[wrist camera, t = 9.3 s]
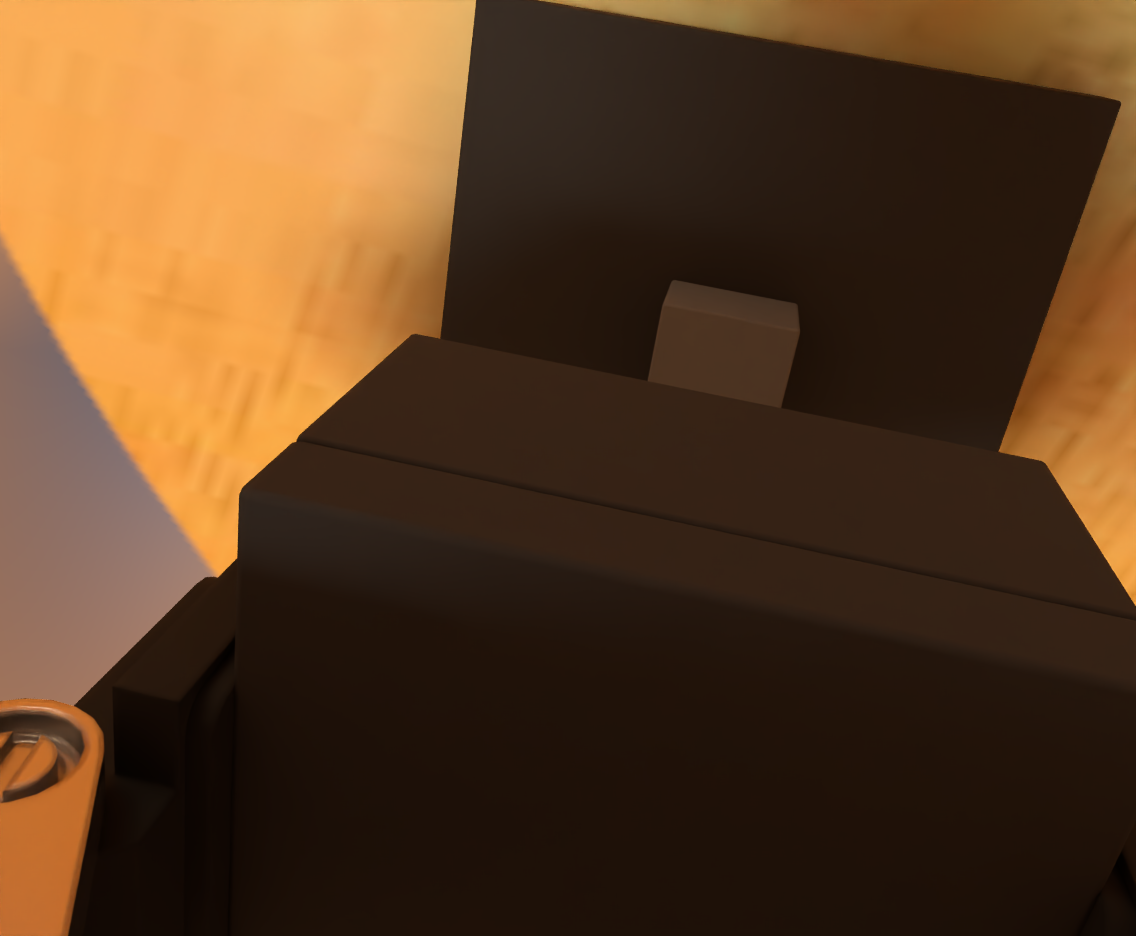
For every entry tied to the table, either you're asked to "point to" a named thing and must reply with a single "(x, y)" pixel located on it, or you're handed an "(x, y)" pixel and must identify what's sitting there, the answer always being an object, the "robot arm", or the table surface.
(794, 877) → the top pad
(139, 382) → the table surface
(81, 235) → the table surface
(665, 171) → the base pad
